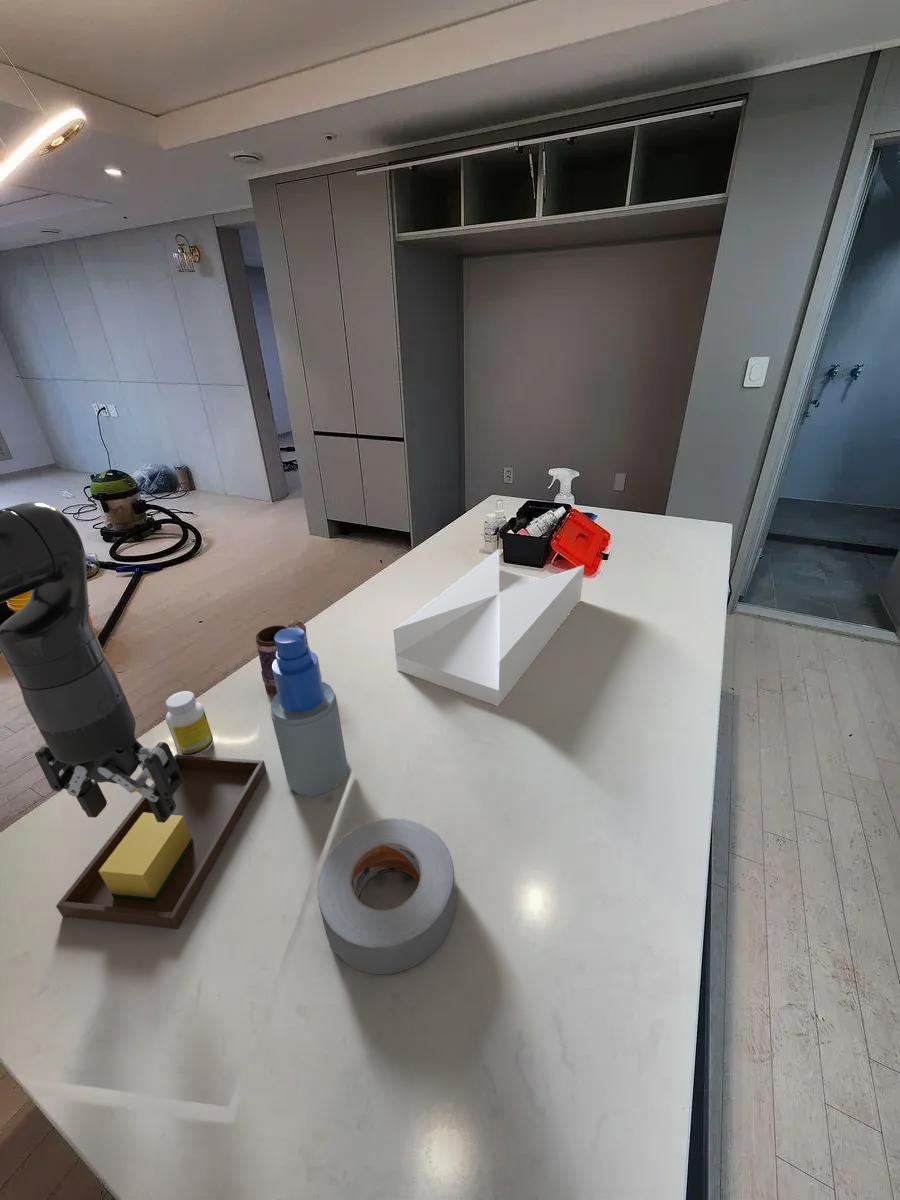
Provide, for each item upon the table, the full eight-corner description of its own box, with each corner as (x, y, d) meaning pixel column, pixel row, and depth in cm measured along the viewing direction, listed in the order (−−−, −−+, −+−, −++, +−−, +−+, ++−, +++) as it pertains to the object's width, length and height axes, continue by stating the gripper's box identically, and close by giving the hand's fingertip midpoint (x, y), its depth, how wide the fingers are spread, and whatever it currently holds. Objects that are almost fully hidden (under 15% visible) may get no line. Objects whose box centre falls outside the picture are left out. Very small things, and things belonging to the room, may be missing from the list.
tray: (64, 919, 58) (55, 906, 57) (180, 767, 79) (175, 754, 78) (179, 932, 57) (173, 918, 56) (267, 773, 77) (264, 760, 76)
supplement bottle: (221, 742, 83) (206, 694, 79) (191, 763, 79) (173, 715, 75) (200, 730, 86) (185, 684, 81) (170, 750, 82) (152, 703, 77)
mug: (280, 702, 92) (267, 647, 86) (257, 688, 96) (243, 634, 90) (324, 675, 99) (315, 622, 93) (301, 662, 103) (291, 611, 97)
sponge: (112, 897, 60) (98, 871, 58) (154, 838, 67) (143, 812, 65) (156, 902, 59) (143, 875, 57) (193, 841, 66) (183, 815, 64)
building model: (498, 706, 90) (499, 661, 85) (397, 670, 100) (393, 628, 95) (580, 600, 123) (584, 564, 119) (498, 581, 134) (499, 547, 129)
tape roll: (298, 902, 60) (290, 875, 57) (398, 822, 69) (396, 796, 67) (378, 1011, 50) (373, 984, 47) (482, 901, 59) (483, 874, 57)
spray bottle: (274, 783, 75) (237, 641, 64) (317, 745, 82) (290, 610, 70) (319, 808, 71) (288, 661, 60) (360, 766, 78) (339, 626, 66)
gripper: (168, 684, 54) (207, 791, 61) (45, 678, 55) (98, 784, 63) (120, 733, 47) (170, 847, 55) (-17, 726, 49) (50, 837, 56)
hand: (132, 813), depth 59 cm, fingers open, 8 cm apart
